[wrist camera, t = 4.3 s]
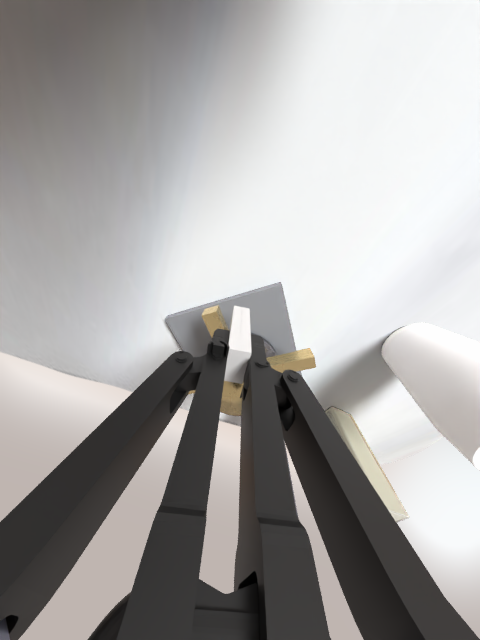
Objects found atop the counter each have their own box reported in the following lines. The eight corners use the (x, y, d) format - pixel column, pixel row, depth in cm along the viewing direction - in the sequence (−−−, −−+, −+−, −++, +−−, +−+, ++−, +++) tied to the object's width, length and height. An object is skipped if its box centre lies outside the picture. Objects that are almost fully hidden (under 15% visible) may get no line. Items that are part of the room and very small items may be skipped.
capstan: (151, 315, 21) (112, 352, 15) (290, 273, 18) (313, 297, 12) (208, 408, 28) (198, 458, 22) (312, 388, 25) (332, 439, 19)
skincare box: (326, 432, 32) (367, 535, 22) (306, 424, 31) (338, 528, 21) (352, 413, 30) (413, 519, 19) (331, 404, 29) (383, 510, 18)
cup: (377, 379, 26) (469, 484, 15) (363, 332, 22) (470, 429, 12) (450, 355, 24) (615, 460, 13) (447, 300, 20) (671, 382, 10)
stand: (167, 315, 22) (68, 431, 10) (280, 282, 20) (339, 377, 7) (224, 416, 31) (211, 543, 19) (306, 401, 29) (353, 536, 16)
